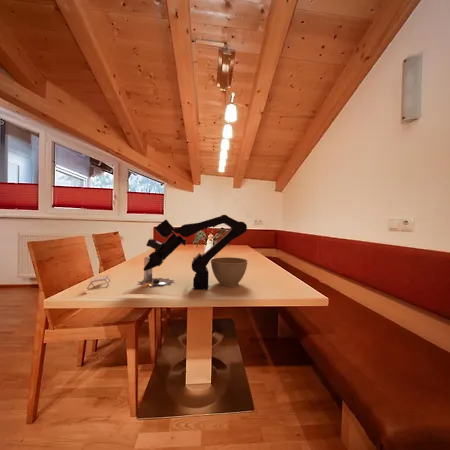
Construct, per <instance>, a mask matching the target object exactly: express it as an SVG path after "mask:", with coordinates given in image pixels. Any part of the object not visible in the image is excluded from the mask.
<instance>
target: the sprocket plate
mask: <svg viewBox="0 0 450 450" xmlns="http://www.w3.org/2000/svg"><path fill="white" fill-rule="evenodd" d="M175 283H176V282H175V280H174V279H170V278H163V277H158V278H157V277H155V278H153V277H152V282H150V283H145V282H144V279H142V280H141V281H137V286H141V287H143V288H144V287H146V288H147V287H149V288H152V289H153V288H157V287H158V288H164V287H165V286H172V284H175Z"/></svg>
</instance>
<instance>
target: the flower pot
mask: <svg viewBox="0 0 450 450" xmlns="http://www.w3.org/2000/svg"><path fill="white" fill-rule="evenodd" d="M210 263H211V264H210V266H211V269H212V273H213V276H214V277H215V279H216V280H217V282H218V283H219V284H220V286H224V287H235V286H237V285H239V283H240V282H241V281H242V279H243V278H244V277H245V276H244V275H245V273H246V270H247V266H248V260H247V259H245V258H241V257H229V256H228V257H226V256H224V257H213V258H212V259H211V260H210Z"/></svg>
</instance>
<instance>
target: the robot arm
mask: <svg viewBox="0 0 450 450" xmlns="http://www.w3.org/2000/svg"><path fill="white" fill-rule="evenodd" d="M222 224H224V225H226V226H228V227H229V229H228V231H227V233H226V234H225V235H223V236H222V237H221V238H220V239H219V240H218V241H217V242H215V243H214V244H213V245H211V247H210V248H209V249H208V250H207V251H206V252H203V254H201V253H200V252H198V254H197V255H196V256H195V257H193V258H192V261H191V270H192V271H193V272H194V273H195V274H194V276H193V283H192V285H193V290H209V280H210V279H209V273H210V272H209V270H208V267H207V266H208V264H209V263H210V262H211V259H214V258H215V256H217V254H218V253H219V252H221V251H222V250H223V249H224V248H225V247H227V245H229V243H231V242H232V241H233V240H235V239H236V238H238V237H240V236H242V235H244V234H245V233H246V232H247V230H248V227H247V224H246V223H245V222H244V221H239V220H235V219H234V218H232V217H229V216H228V215H227V214H222V215H220V216H216V217H213V218H210V219H206V220H203V221H200V222H196V223H194V222H193V223H192V222H191V223H186V224H182V225H181V226H179V227H178V226H177V227H174V226H173V225H172V224H171V223H170V222H169V221H168V219H165V220H163V221H162V222H161V223H159V224H158V225H157V226H155V228H154V230H155V231H156V233H157V234H159V235H160V236H161V237H162V239H164V238H166V240H165V241H163V242H160V241H158V240H156V239H155V238H152V237H151V238H149V239H148V241H147V242H146V247H149V248H152V249H154V251H153V252H151V253H150V254H149V255H148V257H150V260H149V262H148V263H147V265H146V266H145V268H144V267H143V272H144V271H146V270H149V269H151V268H152V269H153V268H156V267H160V266H161V265H162V264H163V263H164V261H165V260H166V259H167V258H168V257H169V256H170V255H171V254H172V253H173V252H174V251H175V250H176V249H177V248H178V247H179V246H180V245H181V244H182V245H183V246H186V245H187V239H186V238H188V237H190V236H193V235H194V234H196V233H198V232H200V231H203V230H206V229H209V228H212V227H213V228H214V227H215V226H218V225H222ZM178 234H179V235H178Z"/></svg>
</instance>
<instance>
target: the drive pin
mask: <svg viewBox="0 0 450 450" xmlns="http://www.w3.org/2000/svg"><path fill="white" fill-rule="evenodd" d="M143 260H144V261H143V269H144V268H145V266H146V265H147V263H148V262H149V260H150V257H149V256H145V257H143ZM152 278H153V268H151V269H149V270H146V271H144V270H143V280H144V282H145V283H150V282H152Z"/></svg>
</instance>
